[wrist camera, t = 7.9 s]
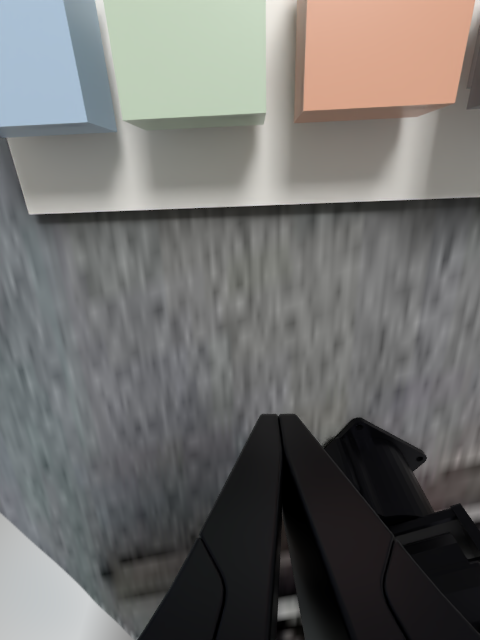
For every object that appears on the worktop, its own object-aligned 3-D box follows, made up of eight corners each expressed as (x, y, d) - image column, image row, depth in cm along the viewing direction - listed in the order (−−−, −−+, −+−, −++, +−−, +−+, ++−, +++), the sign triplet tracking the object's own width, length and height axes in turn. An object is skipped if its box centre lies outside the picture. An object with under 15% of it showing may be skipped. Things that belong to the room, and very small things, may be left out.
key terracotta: (443, -53, 11) (498, -119, 9) (416, 116, 14) (454, 103, 11) (298, -42, 12) (310, -103, 9) (293, 123, 14) (303, 110, 11)
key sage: (262, -40, 12) (265, -99, 9) (263, 124, 14) (266, 112, 11) (124, -29, 12) (89, -85, 9) (146, 130, 14) (122, 120, 12)
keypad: (642, -167, 11) (811, -316, 8) (530, 193, 16) (605, 198, 13) (-52, -104, 13) (-166, -210, 9) (38, 212, 18) (-15, 221, 14)
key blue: (90, -27, 12) (47, -81, 10) (117, 132, 14) (87, 122, 12) (-41, -17, 12) (-118, -68, 10) (4, 137, 14) (-49, 129, 12)
